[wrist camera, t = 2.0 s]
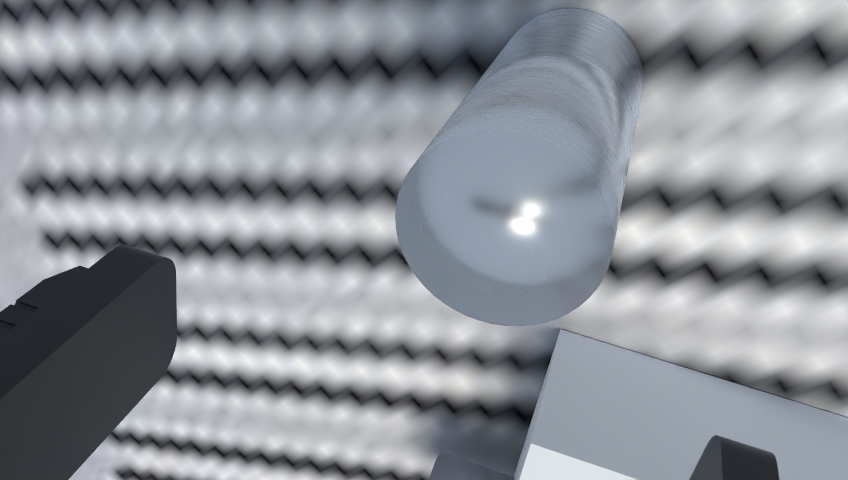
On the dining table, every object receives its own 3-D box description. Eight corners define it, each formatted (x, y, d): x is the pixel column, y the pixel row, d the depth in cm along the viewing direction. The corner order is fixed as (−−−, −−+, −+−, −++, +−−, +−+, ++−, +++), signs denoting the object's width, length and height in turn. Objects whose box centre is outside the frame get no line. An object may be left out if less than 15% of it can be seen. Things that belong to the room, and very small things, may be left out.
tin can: (663, 27, 22) (643, 165, 14) (619, 164, 25) (579, 351, 16) (514, -8, 23) (411, 103, 15) (485, 128, 25) (382, 289, 17)
